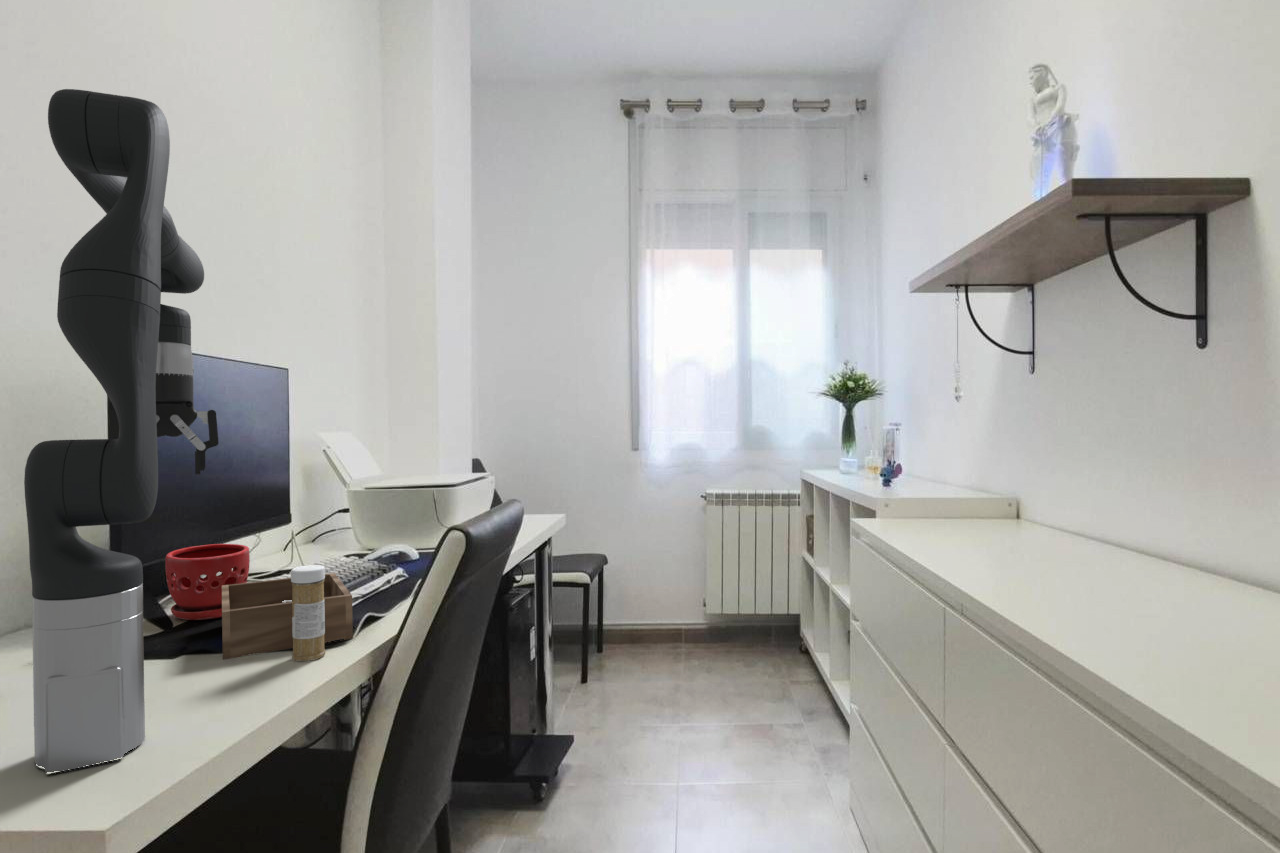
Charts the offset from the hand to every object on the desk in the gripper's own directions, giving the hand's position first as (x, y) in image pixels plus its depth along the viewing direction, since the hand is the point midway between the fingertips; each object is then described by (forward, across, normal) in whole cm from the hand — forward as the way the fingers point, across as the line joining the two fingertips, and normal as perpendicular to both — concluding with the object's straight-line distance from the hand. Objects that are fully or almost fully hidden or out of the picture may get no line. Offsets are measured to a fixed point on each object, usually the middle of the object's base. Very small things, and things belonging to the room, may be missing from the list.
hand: (166, 475), depth 109 cm
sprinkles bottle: (+27, +18, -19) cm, 38 cm away
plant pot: (+27, +6, +17) cm, 32 cm away
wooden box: (+27, +16, -3) cm, 32 cm away
